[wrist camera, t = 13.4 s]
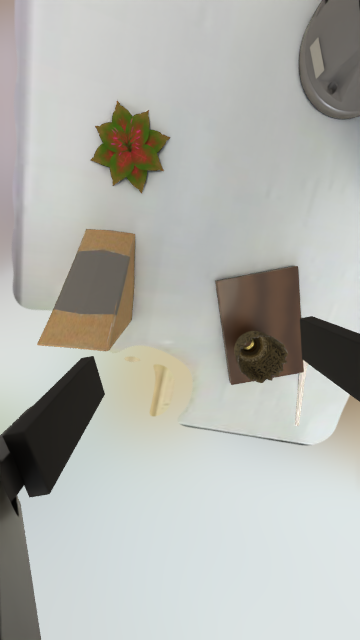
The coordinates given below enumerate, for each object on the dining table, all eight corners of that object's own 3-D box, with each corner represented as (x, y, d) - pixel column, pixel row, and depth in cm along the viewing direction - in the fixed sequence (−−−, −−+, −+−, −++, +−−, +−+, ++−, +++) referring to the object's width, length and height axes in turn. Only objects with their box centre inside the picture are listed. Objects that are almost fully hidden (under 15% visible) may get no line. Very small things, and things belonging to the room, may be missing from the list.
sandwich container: (136, 233, 37) (111, 211, 23) (133, 321, 41) (109, 352, 26) (84, 228, 37) (25, 203, 22) (85, 317, 40) (35, 346, 26)
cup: (275, 340, 41) (298, 357, 33) (246, 368, 42) (263, 391, 34) (246, 314, 39) (263, 326, 32) (218, 344, 41) (228, 362, 33)
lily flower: (78, 166, 35) (64, 151, 30) (113, 86, 32) (103, 57, 28) (146, 209, 36) (142, 201, 32) (183, 136, 34) (185, 116, 30)
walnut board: (293, 266, 39) (298, 266, 37) (299, 368, 44) (304, 372, 42) (214, 280, 39) (216, 281, 38) (229, 381, 44) (231, 385, 43)
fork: (287, 424, 47) (292, 430, 45) (295, 334, 42) (301, 337, 41) (302, 423, 47) (307, 429, 46) (312, 333, 43) (318, 336, 41)
